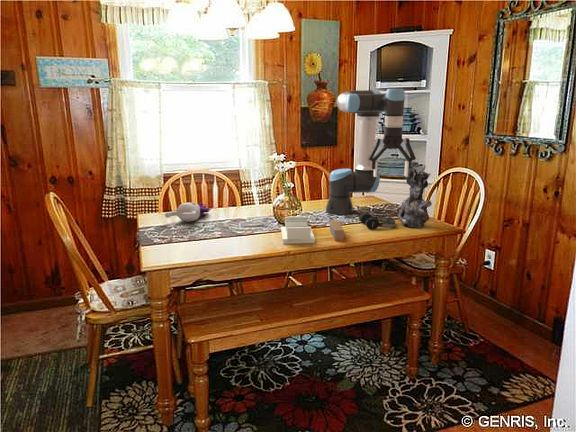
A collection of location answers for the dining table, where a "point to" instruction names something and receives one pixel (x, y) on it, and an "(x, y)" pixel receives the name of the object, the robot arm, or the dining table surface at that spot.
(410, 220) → the sculpture
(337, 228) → the tan wooden plank
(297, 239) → the stand
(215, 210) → the dining table surface
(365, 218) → the headset
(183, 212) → the figurine
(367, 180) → the robot arm
